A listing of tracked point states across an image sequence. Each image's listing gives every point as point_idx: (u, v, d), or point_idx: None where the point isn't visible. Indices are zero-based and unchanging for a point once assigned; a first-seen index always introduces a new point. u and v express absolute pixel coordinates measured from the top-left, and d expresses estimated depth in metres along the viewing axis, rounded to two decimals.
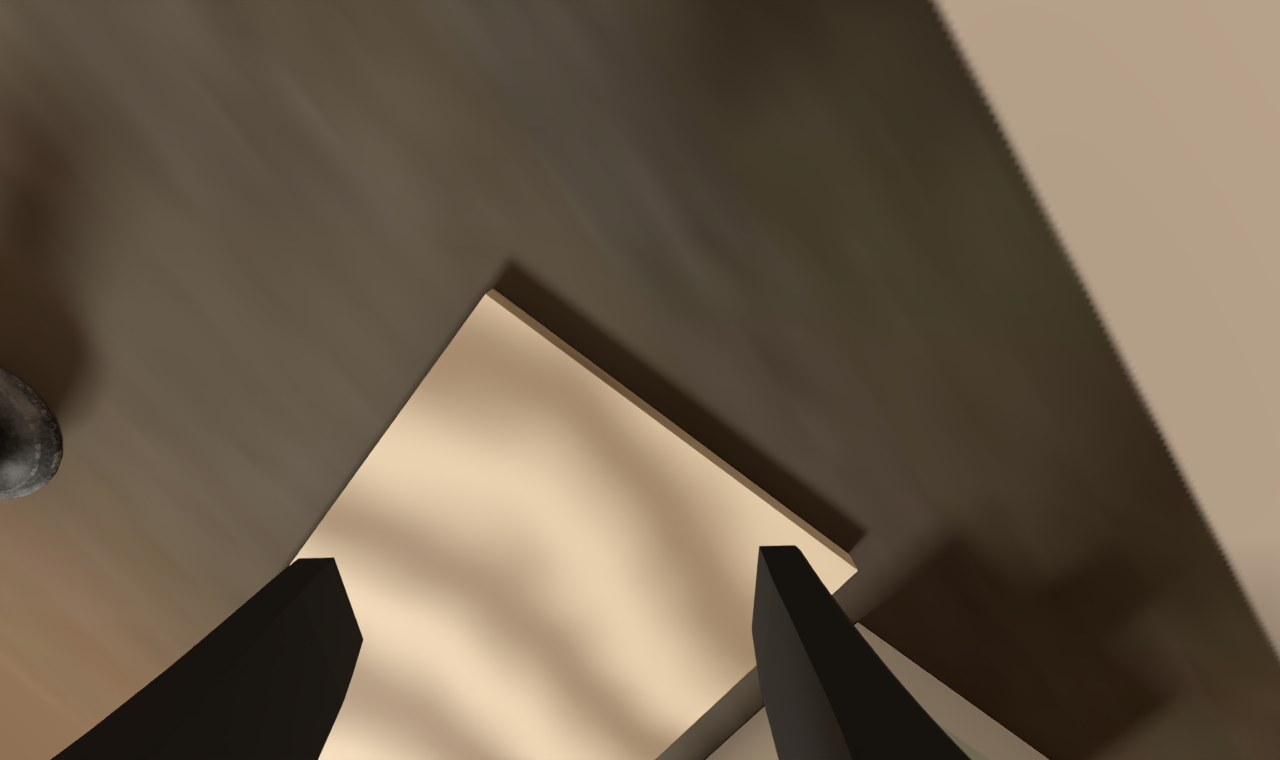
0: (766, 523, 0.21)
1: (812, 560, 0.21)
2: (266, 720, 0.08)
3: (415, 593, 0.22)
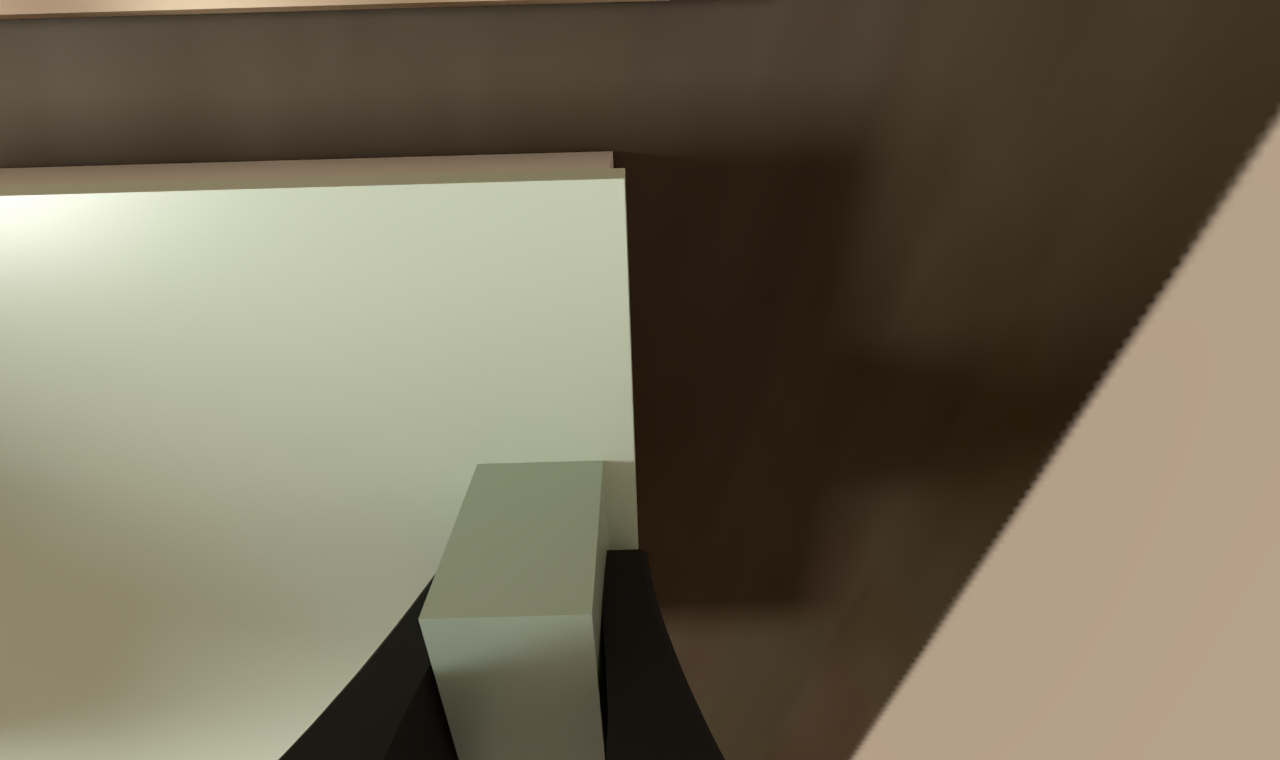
0: None
1: None
2: None
3: None
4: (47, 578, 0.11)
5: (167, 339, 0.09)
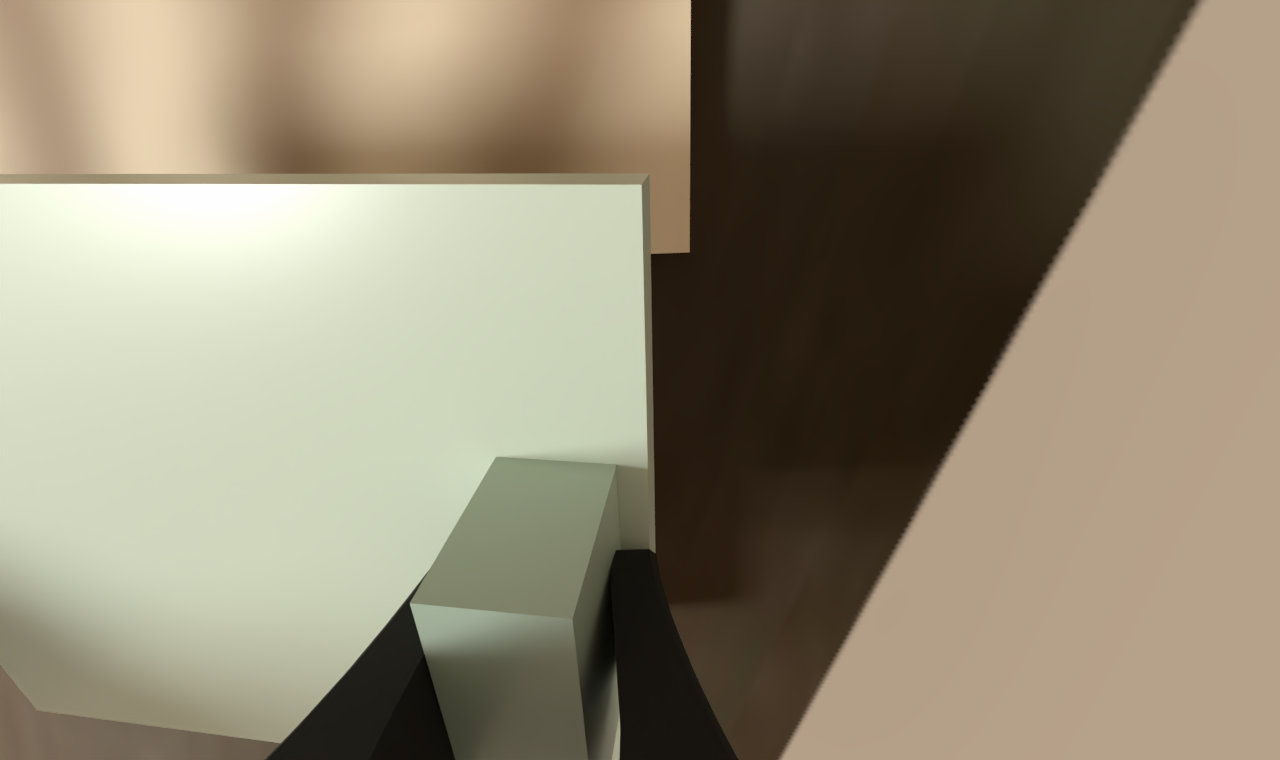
0: (666, 104, 0.15)
1: (663, 197, 0.16)
2: (439, 715, 0.08)
3: None
4: (126, 524, 0.12)
5: (224, 319, 0.09)
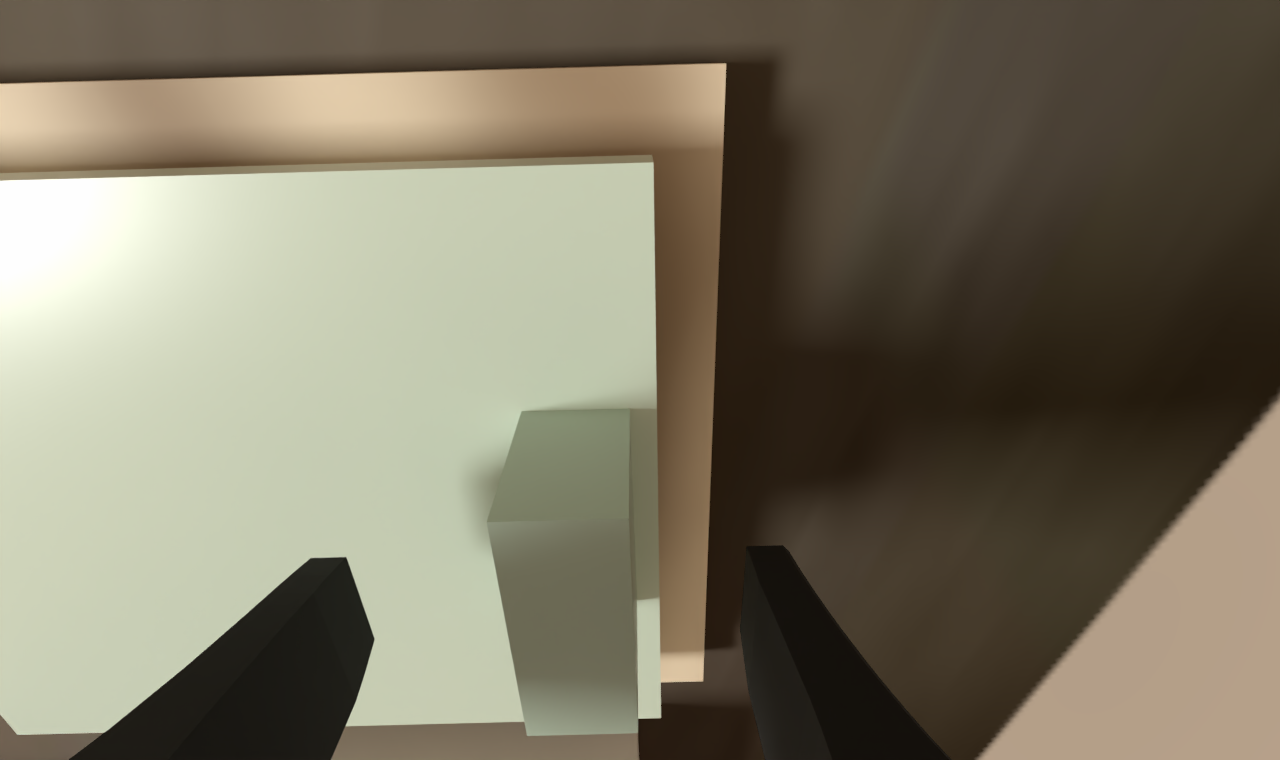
0: (683, 586, 0.16)
1: (678, 645, 0.17)
2: (280, 719, 0.08)
3: None
4: (141, 516, 0.12)
5: (262, 300, 0.10)
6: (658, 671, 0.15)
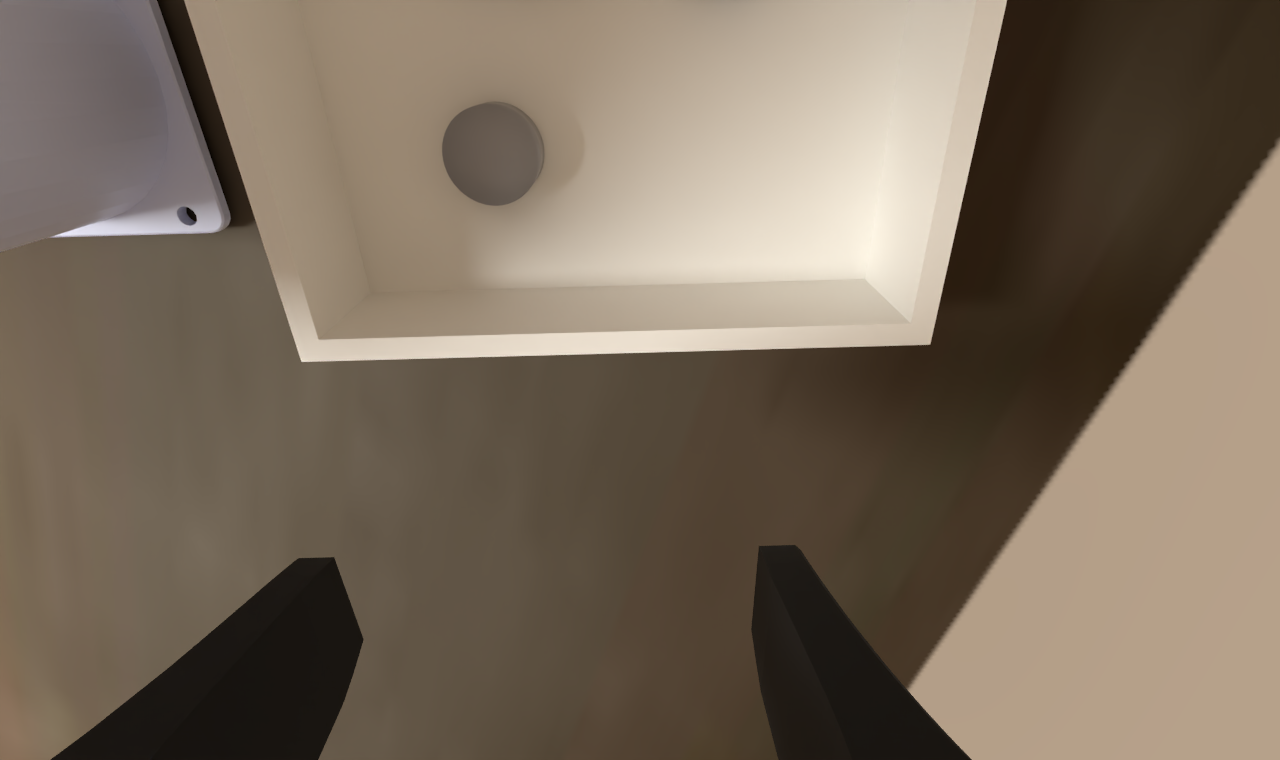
0: None
1: None
2: (266, 720, 0.08)
3: None
4: None
5: None
6: None
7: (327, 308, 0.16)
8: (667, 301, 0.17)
